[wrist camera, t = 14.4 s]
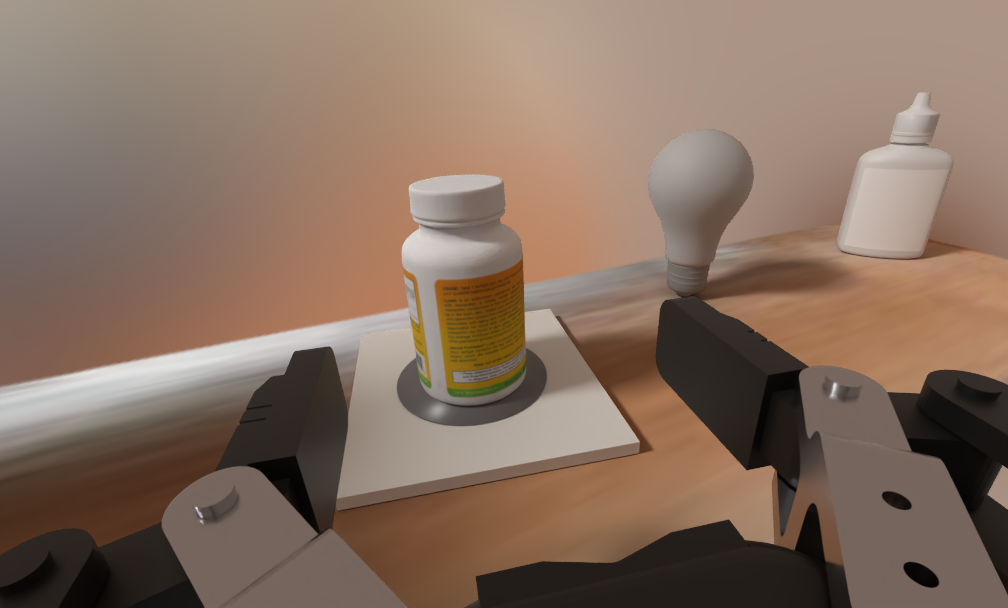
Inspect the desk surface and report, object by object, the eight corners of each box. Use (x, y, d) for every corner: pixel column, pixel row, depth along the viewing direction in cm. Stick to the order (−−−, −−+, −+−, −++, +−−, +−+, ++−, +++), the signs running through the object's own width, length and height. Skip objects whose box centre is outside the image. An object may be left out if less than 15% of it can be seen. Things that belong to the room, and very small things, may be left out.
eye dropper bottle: (907, 267, 35) (965, 93, 30) (826, 249, 39) (865, 95, 34) (929, 254, 37) (987, 89, 32) (850, 239, 42) (890, 91, 36)
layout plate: (337, 510, 17) (333, 496, 17) (363, 342, 29) (361, 332, 29) (638, 453, 19) (639, 439, 19) (549, 316, 31) (549, 307, 30)
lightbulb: (751, 309, 30) (786, 129, 26) (661, 318, 30) (679, 137, 25) (704, 275, 36) (725, 122, 31) (627, 282, 35) (637, 128, 31)
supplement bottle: (545, 364, 24) (543, 173, 20) (488, 423, 20) (471, 200, 16) (462, 340, 27) (446, 168, 23) (397, 389, 23) (362, 190, 19)
